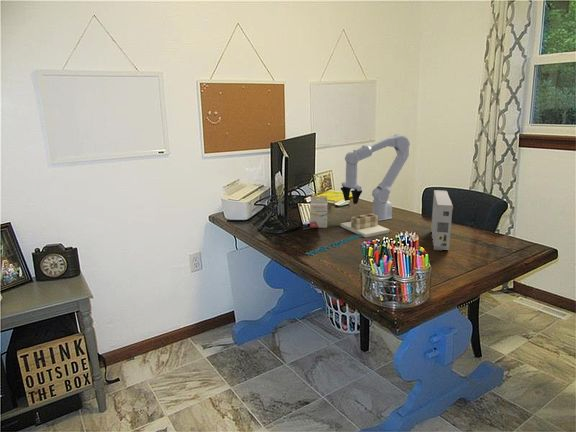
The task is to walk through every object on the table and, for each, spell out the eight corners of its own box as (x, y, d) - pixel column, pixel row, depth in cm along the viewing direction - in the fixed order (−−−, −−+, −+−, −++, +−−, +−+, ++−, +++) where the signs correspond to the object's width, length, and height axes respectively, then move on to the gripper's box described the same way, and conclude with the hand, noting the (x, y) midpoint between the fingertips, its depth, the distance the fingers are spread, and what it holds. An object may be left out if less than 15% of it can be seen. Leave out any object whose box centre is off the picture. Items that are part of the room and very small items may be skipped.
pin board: (363, 222, 214) (363, 212, 213) (389, 232, 197) (390, 222, 195) (340, 226, 208) (340, 216, 206) (365, 237, 191) (365, 227, 189)
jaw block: (351, 227, 201) (351, 217, 200) (371, 223, 207) (371, 213, 205) (357, 229, 197) (357, 219, 196) (377, 225, 202) (378, 215, 201)
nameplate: (302, 254, 173) (311, 257, 170) (302, 252, 173) (311, 255, 169) (359, 234, 197) (367, 236, 193) (359, 232, 196) (367, 234, 193)
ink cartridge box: (310, 227, 207) (309, 198, 203) (310, 224, 212) (310, 196, 208) (327, 227, 206) (327, 198, 202) (327, 224, 211) (327, 196, 207)
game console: (444, 232, 195) (447, 190, 189) (449, 253, 170) (453, 205, 164) (431, 231, 196) (434, 190, 191) (434, 252, 171) (437, 204, 166)
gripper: (336, 174, 217) (336, 200, 221) (353, 179, 204) (352, 206, 208) (348, 173, 220) (347, 198, 224) (365, 177, 207) (364, 204, 211)
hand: (351, 202), depth 216 cm, fingers open, 7 cm apart
